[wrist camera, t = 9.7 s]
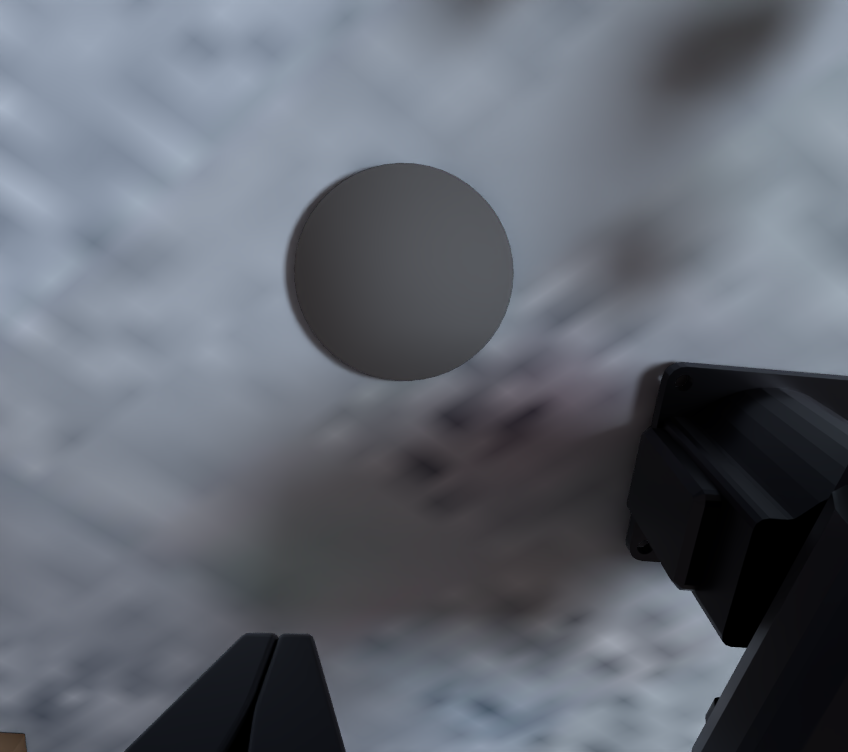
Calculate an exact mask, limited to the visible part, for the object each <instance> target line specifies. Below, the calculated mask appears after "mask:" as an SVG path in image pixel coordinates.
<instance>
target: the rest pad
mask: <svg viewBox="0 0 848 752" xmlns="http://www.w3.org/2000/svg"><path fill="white" fill-rule="evenodd" d="M294 271H295V286H296V292H297V297H298V300H299V304H300V307H301V310H302V312H303V315H304V317H305V319H306V321H307V323H308V325H309V326H310V328H311V330H312V331H313V333H314V334H315V336H316V337H317V338H318V339H319V341H320V342H321V343H322V344H323V346H325V347H326V348H327V349H328V350H329V351H330V352H331V353H332V354H333V355H334V356H335V357H337V358H338V359H340V360H341V361H342V362H344V363H345V364H347V365H349V366H350V367H352V368H354V369H356V370H358V371H360V372H363V373H365V374H368V375H371V376H374V377H378V378H382V379H389V380H395V381H412V380H422V379H426V378H431V377H435V376H438V375H441V374H444V373H446V372H449V371H451V370H453V369H455V368H457V367H459V366H461V365H462V364H464V363H465V362H466V361H468V360H469V359H471V358H472V357H473V356H474V355H476V354H477V353H478V352H479V351H480V350H481V349H482V348H483V347H484V346H485V345H486V344H487V343H488V341H489V340H490V339H491V338H492V336H493V335H494V333H495V332H496V330H497V329H498V327H499V326H500V324H501V322H502V320H503V318H504V316H505V313H506V310H507V307H508V305H509V302H510V297H511V292H512V286H513V259H512V254H511V248H510V244H509V241H508V238H507V235H506V232H505V230H504V228H503V226H502V224H501V222H500V220H499V218H498V216H497V215H496V213H495V212H494V210H493V209H492V208H491V206H490V205H489V204H488V203H487V202H486V200H485V199H484V198H483V197H482V196H481V195H480V194H479V193H478V192H477V191H475V190H474V189H473V188H472V187H471V186H470V185H468V184H467V183H465V182H464V181H462V180H461V179H459V178H457V177H456V176H454V175H451V174H449V173H447V172H445V171H443V170H440V169H437V168H433V167H430V166H426V165H420V164H413V163H395V164H386V165H381V166H377V167H373V168H369V169H367V170H364V171H362V172H359V173H357V174H355V175H353V176H352V177H350V178H348V179H346V180H345V181H343V182H342V183H340V184H339V185H338V186H336V187H335V188H334V189H332V190H331V191H330V192H329V193H328V194H327V195H326V196H325V197H324V198H323V199H322V200H321V201H320V202H319V204H318V205H317V206H316V208H315V209H314V211H313V212H312V213H311V215H310V217H309V219H308V220H307V222H306V224H305V226H304V228H303V231H302V234H301V236H300V239H299V242H298V247H297V251H296V257H295V267H294Z"/></svg>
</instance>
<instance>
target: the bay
mask: <svg viewBox="0 0 848 752" xmlns="http://www.w3.org/2000/svg"><path fill="white" fill-rule="evenodd" d="M0 752H27V749H26V742H25V734H14V733H0Z"/></svg>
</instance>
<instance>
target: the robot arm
mask: <svg viewBox="0 0 848 752" xmlns="http://www.w3.org/2000/svg"><path fill="white" fill-rule="evenodd" d="M681 375H687V381H686V383H685V384H683V385H682V386H678V387H676V386H675V382H676V380H677V378H678V377H680V376H681ZM627 507H628V508H629V510H630V512H631V513H632V514H631V519H630V523H629V528H628V532H627V537H626V545H627V547H628V549H629V551H630V553H631V555H632V556H633V557H634V558H635V559H637V560H641V561H651V562H661V564H662V566H663V567H664V569H665V571H666V573H667V574H668V576H669V578H670V579H671V581H672V582H673V583H674V584H675V586H676V587H677V588H678V589H679V590H688V591H692V593H693V595H694V596H695V598H696V600H697V601H698V603H699V604H700V606H701V608H702V609H703V611H704V612H705V614H706V616H707V617H708V619H709V620H710V622H711V624H712V625H713V627H714V628H715V630H716V632H717V633H718V635H719V636H720V638H721V640H722V641H723V642H724V644H725V645H727V646H730V647H742V648H747V649H746V651H745V652H744V654H743V656H742V658H741V660H740V662H739V663H738V665H737V667H736V669H735V671H734V673H733V674H732V676H731V678H730V680H729V682H728V684H727V685H726V687H725V689H724V691H723V693H722V695H721V696H720V697H717V698H715V699H714V701H713V703H712V704H711V706H710V708H709V710H708V712H707V714H706V717H705V719H706V724H705V726H704V727H703V729H702V731H701V733H700V735H699V737H698V738H697V740H696V742H695V744H694V746H693V748H692V752H848V376H838V375H826V374H814V373H803V372H791V371H779V370H767V369H756V368H744V367H732V366H721V365H709V364H697V363H685V362H680V363H675V364H673V365H671V366H669V367H668V368H667V369H666V370H665V371H664V374H663V376H662V379H661V384H660V388H659V393H658V397H657V402H656V406H655V411H654V415H653V420H652V424H651V427H649V428H648V429H647V430H646V431H645V432H644V433H643V434H642V436H641V441H640V445H639V450H638V454H637V459H636V464H635V468H634V473H633V477H632V482H631V486H630V491H629V496H628V500H627ZM645 540H648V544H647V545H645V546H644V547H638V545H639V543H640V542H642V541H645ZM124 752H346V751H345V747H344V744H343V740H342V737H341V733H340V729H339V726H338V722H337V719H336V715H335V712H334V708H333V705H332V701H331V698H330V694H329V691H328V687H327V684H326V680H325V677H324V673H323V670H322V666H321V663H320V659H319V655H318V652H317V648H316V645H315V641H314V638H313V637H312V636H311V635H310V634H282V635H281V636H280V637H279V638H278V636H277V635H276V634H273V633H246V634H245V635H243V636H242V637H240V638H239V639H238V640H237V641H236V642H235V643H234V644H233V645H232V646H231V647H230V648H229V649H228V650H227V651H226V652H225V653H224V654H223V655H222V656H221V657H220V658H219V659H218V660H217V661H216V662H215V663H214V664H213V665H212V666H211V667H210V668H209V669H208V670H207V671H206V672H205V673H204V674H203V675H202V676H201V677H200V678H199V679H197V680H196V681H195V682H194V683H193V684H192V685H191V686H190V687H189V688H188V689H187V690H186V691H185V692H184V693H183V694H182V695H181V696H180V697H179V698H178V699H177V700H176V701H175V702H174V703H173V704H172V705H171V706H170V707H169V708H168V709H167V710H166V711H165V712H164V713H163V714H162V715H161V716H160V717H159V718H158V719H157V720H156V721H155V722H154V723H153V724H152V725H150V726H149V727H148V728H147V729H146V730H145V731H144V732H143V733H142V734H141V735H140V736H139V737H138V738H137V739H136V740H135V741H134V742H133V743H132V744H131V745H130V746H129V747H128V748H127V749H126V750H125V751H124Z"/></svg>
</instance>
